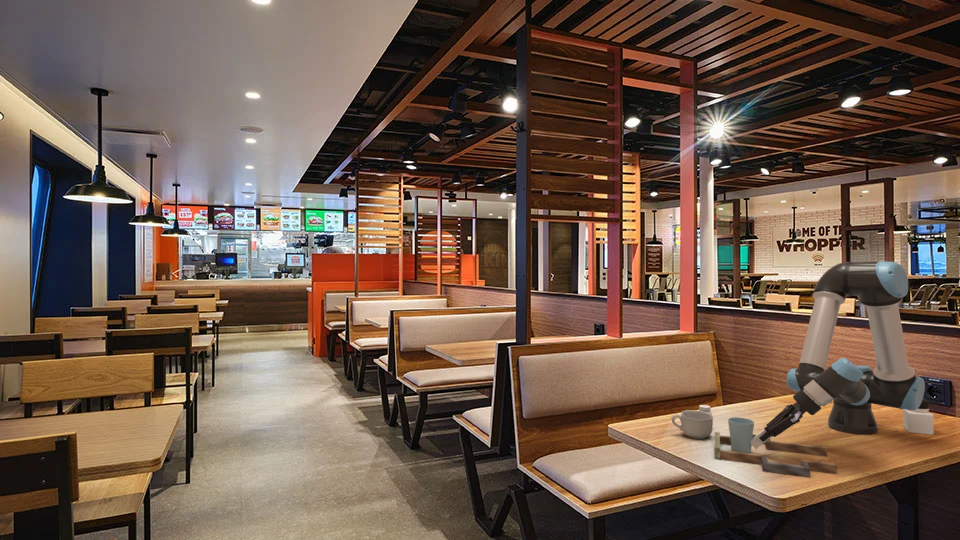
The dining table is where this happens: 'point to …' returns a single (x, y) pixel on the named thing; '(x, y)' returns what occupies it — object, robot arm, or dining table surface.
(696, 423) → the teacup
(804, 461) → the wooden zigzag frame
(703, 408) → the supplement bottle
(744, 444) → the cup
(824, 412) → the dining table surface
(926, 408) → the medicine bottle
